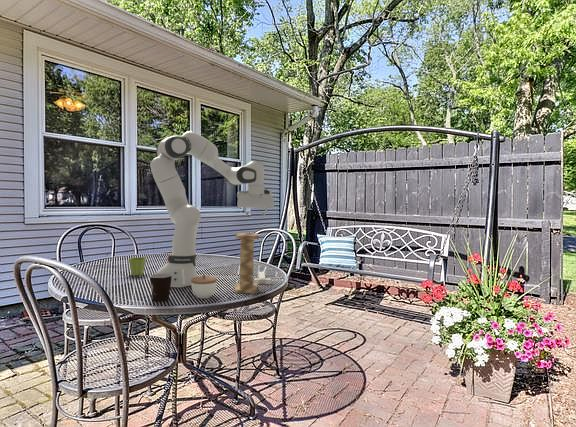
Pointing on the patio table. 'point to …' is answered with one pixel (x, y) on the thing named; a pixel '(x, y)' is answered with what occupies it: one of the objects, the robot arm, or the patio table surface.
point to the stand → (246, 263)
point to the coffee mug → (160, 286)
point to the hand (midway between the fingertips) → (255, 216)
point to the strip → (262, 279)
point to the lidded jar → (203, 286)
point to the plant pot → (137, 266)
